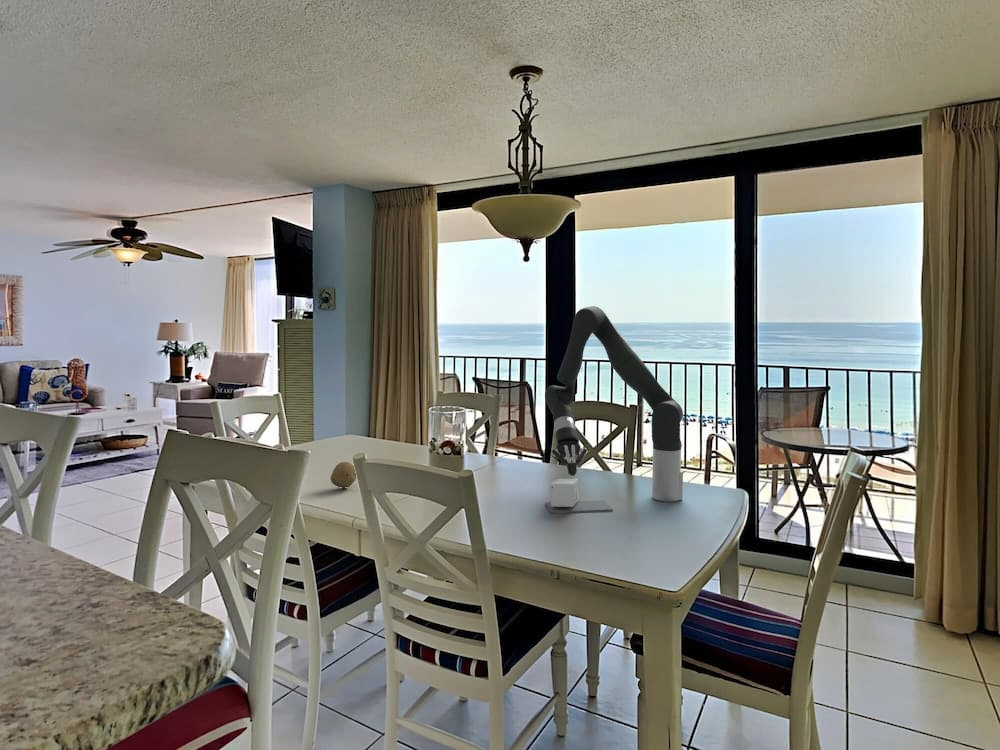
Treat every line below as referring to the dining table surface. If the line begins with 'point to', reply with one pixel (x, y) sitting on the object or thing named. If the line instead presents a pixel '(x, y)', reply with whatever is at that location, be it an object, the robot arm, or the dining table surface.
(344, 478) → the natural sponge
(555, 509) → the mat
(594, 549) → the dining table surface
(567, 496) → the supplement box
